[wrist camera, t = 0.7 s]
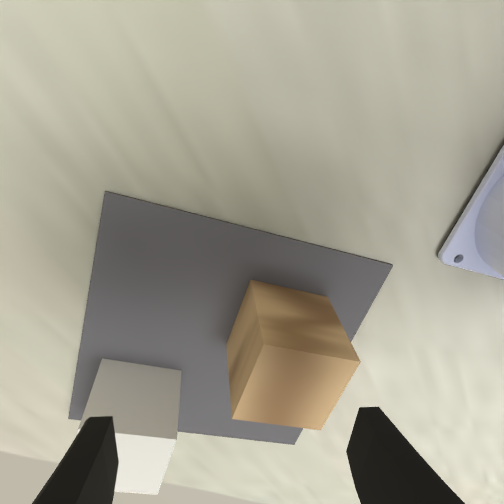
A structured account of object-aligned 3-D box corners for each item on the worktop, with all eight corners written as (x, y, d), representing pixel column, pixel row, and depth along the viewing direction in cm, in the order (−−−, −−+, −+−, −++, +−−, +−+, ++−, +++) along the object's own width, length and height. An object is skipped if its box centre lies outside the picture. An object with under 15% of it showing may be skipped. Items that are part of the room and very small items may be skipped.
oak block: (327, 296, 21) (360, 361, 16) (298, 357, 23) (320, 430, 18) (250, 279, 20) (263, 344, 15) (226, 344, 22) (231, 419, 17)
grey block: (181, 370, 22) (176, 439, 18) (165, 421, 24) (157, 494, 20) (102, 358, 21) (78, 428, 17) (91, 413, 23) (67, 488, 19)
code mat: (392, 264, 20) (393, 265, 20) (293, 443, 27) (294, 444, 26) (105, 190, 17) (104, 191, 17) (68, 417, 23) (68, 419, 23)
